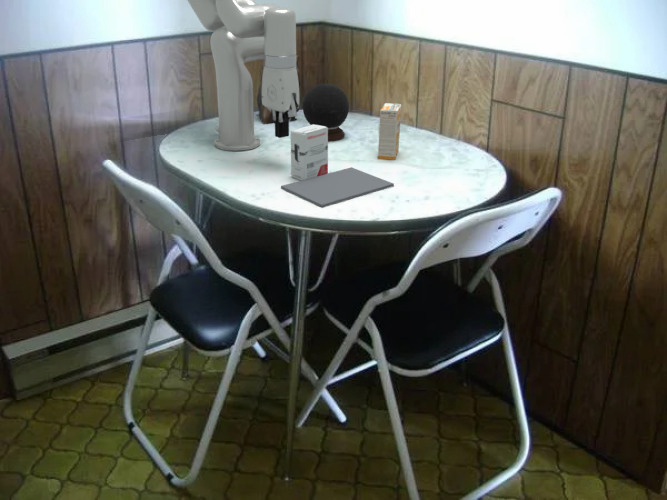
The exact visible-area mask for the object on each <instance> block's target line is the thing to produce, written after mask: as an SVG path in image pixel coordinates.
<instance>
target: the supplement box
mask: <svg viewBox="0 0 667 500" xmlns="http://www.w3.org/2000/svg"><path fill="white" fill-rule="evenodd" d="M379 111H380V113H379V130H378V131H379V132H378V148H377V149H378V152H377V158H378V159H381V160H395V159H396V156H397V154H398V152H399V146H400V132H401V117H402V104H401V103H389V102H388V103H386V102H385V103H384V104H383V105H382V107H381V108H380V110H379Z"/></svg>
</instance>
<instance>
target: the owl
mask: <svg viewBox="0 0 667 500" xmlns="http://www.w3.org/2000/svg"><path fill="white" fill-rule="evenodd" d="M299 60H300V56H299V55H297V54H296V69H297V75H298V83H299V88H300V87H301V79H300V69H299V68H300V67H299ZM260 61H261V64H260V67H259V82H260V83H259V84H258V86H259V87H258V89H257V95H256V104H257V108H258V112H259V113H258V116H259V118H260V121H261V122H262V124H263V125H269V124H275V121H274V119H273V114H272V112H271V111H270V110H268V109H267V107H265V106H264V105H263V104H262V76H263V69H264V66H265V59H264V60H260ZM299 111H300V107H299V108H298V109H297V110H296V113H298V112H299ZM297 120H298V119H297V118H296V116H294V117H291V118H290V121H289V122H295V121H297Z"/></svg>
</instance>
